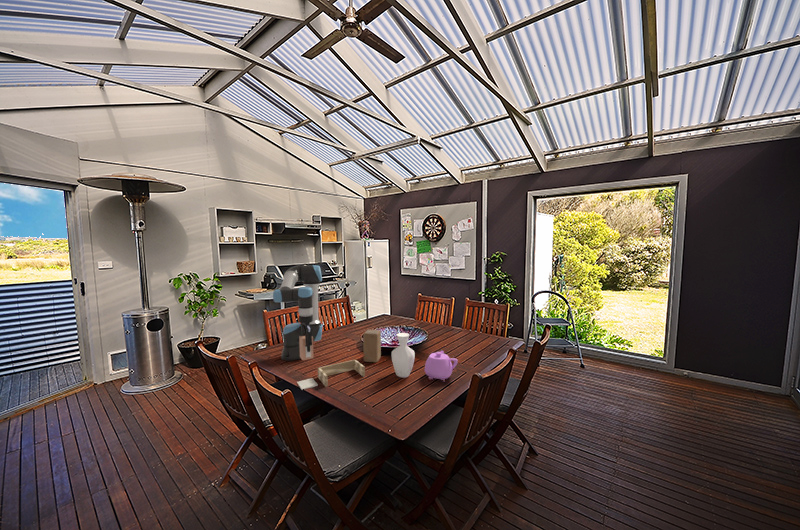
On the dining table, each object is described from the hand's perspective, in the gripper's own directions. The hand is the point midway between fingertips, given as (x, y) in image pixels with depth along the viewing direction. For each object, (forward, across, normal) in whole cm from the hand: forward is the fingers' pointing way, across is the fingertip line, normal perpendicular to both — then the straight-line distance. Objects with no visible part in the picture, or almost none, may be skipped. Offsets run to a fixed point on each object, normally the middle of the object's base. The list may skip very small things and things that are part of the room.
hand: (306, 355), depth 170 cm
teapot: (+17, +33, +72) cm, 81 cm away
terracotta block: (+1, 0, 0) cm, 1 cm away
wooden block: (+17, -12, +48) cm, 53 cm away
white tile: (+17, 0, 0) cm, 17 cm away
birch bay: (+17, +2, +20) cm, 27 cm away
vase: (+17, +19, +53) cm, 59 cm away
